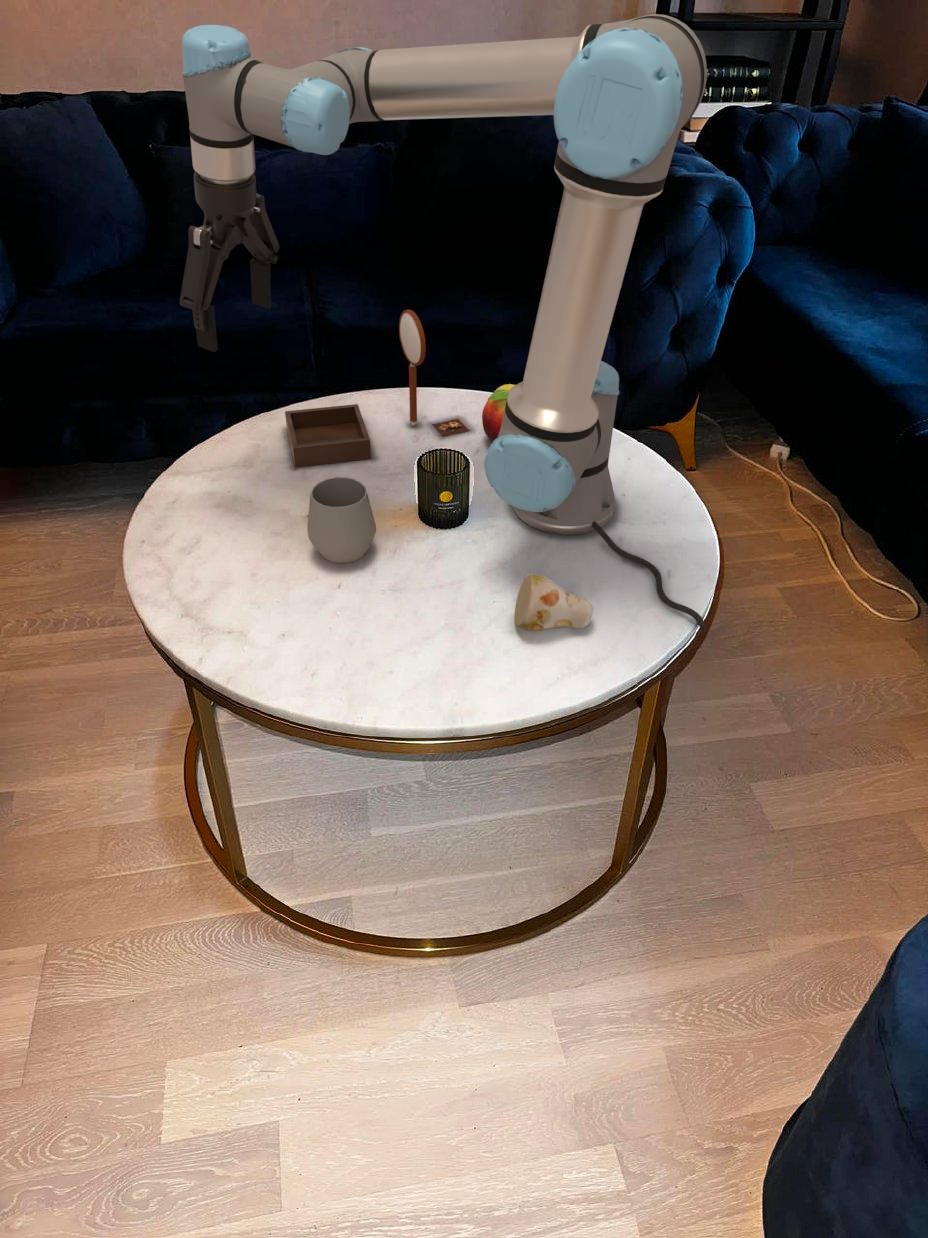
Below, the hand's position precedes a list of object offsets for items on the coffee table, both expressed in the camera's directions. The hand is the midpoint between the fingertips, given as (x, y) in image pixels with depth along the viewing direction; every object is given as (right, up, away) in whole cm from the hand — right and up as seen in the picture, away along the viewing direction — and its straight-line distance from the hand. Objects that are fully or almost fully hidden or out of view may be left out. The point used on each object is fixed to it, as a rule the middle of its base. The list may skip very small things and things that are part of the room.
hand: (235, 325), depth 132 cm
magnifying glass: (+23, -8, +28) cm, 38 cm away
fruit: (+40, -12, +24) cm, 49 cm away
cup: (+15, -32, +1) cm, 35 cm away
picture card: (+30, -9, +28) cm, 42 cm away
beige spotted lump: (+44, -42, -10) cm, 61 cm away
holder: (+10, -12, +23) cm, 28 cm away
